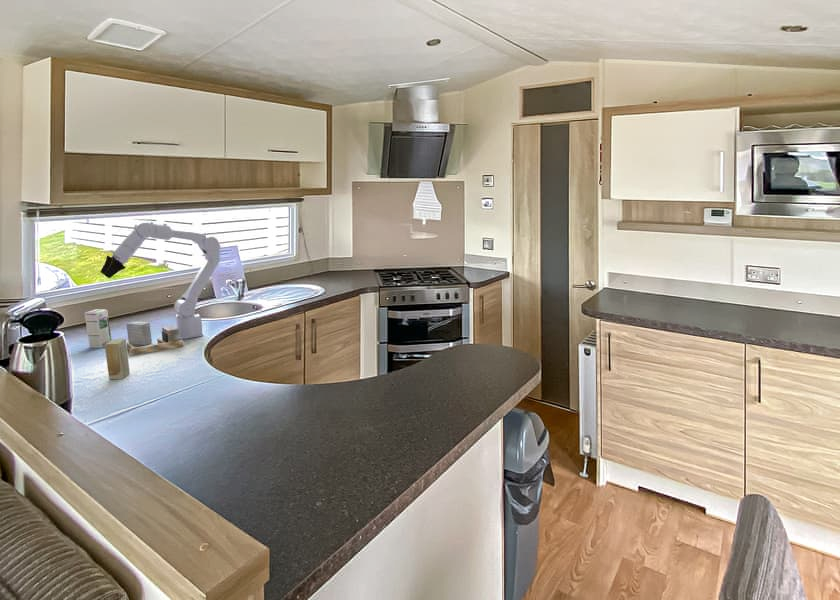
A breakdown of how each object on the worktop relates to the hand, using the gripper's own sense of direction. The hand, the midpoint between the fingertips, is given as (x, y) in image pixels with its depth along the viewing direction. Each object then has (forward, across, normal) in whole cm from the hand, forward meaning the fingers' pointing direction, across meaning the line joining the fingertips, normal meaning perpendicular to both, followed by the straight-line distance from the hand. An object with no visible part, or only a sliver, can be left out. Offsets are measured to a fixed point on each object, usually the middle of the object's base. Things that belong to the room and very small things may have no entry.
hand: (104, 275), depth 216 cm
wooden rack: (+13, +13, +28) cm, 33 cm away
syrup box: (+24, -5, +17) cm, 30 cm away
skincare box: (+24, +43, +14) cm, 51 cm away
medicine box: (+15, +2, +27) cm, 31 cm away
